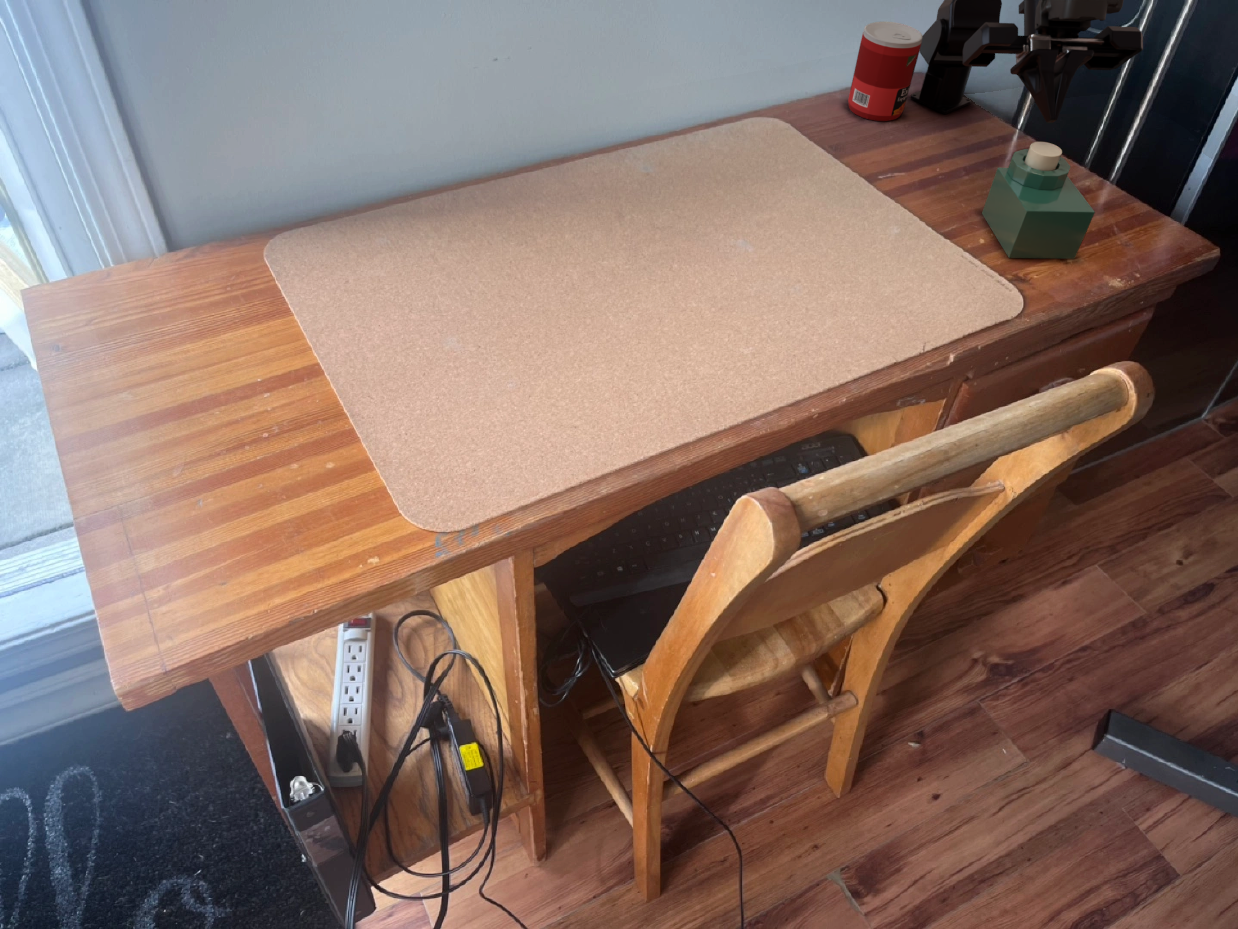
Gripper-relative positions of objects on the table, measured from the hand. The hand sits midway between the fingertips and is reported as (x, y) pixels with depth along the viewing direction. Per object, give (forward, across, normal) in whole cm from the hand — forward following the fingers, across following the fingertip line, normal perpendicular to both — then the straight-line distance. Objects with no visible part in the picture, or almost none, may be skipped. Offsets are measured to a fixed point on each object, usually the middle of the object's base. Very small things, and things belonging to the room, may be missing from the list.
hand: (1051, 121), depth 112 cm
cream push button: (+4, 0, +3) cm, 5 cm away
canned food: (-12, -11, +30) cm, 34 cm away
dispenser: (+12, 0, +6) cm, 13 cm away
